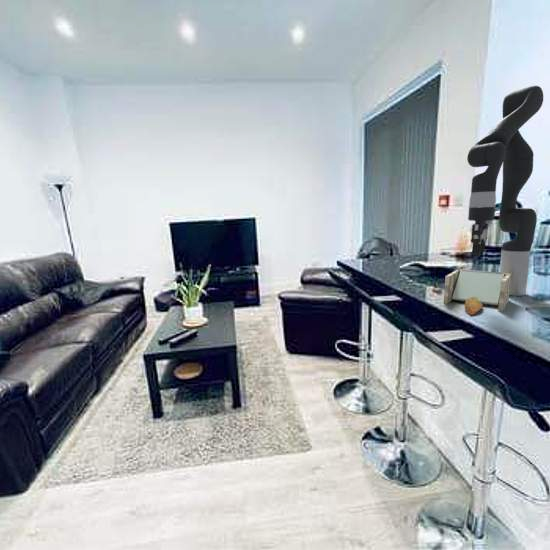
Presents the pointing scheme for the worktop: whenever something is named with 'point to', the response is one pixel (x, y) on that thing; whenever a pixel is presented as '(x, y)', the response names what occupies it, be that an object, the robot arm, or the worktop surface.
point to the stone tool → (472, 305)
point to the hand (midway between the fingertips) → (478, 254)
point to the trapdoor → (478, 286)
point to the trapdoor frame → (452, 281)
